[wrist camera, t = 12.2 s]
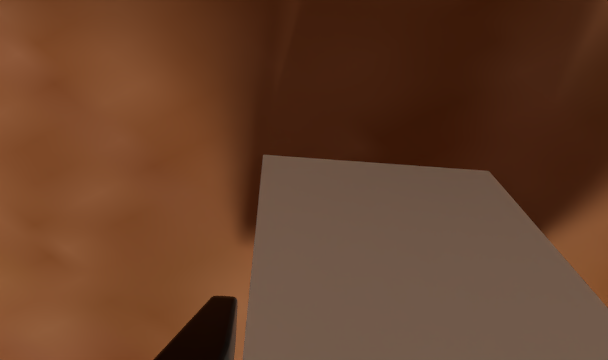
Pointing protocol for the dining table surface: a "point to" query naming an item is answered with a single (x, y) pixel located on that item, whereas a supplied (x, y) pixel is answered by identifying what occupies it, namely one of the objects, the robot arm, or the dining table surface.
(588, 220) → the dining table surface
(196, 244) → the dining table surface
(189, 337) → the robot arm
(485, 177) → the block
